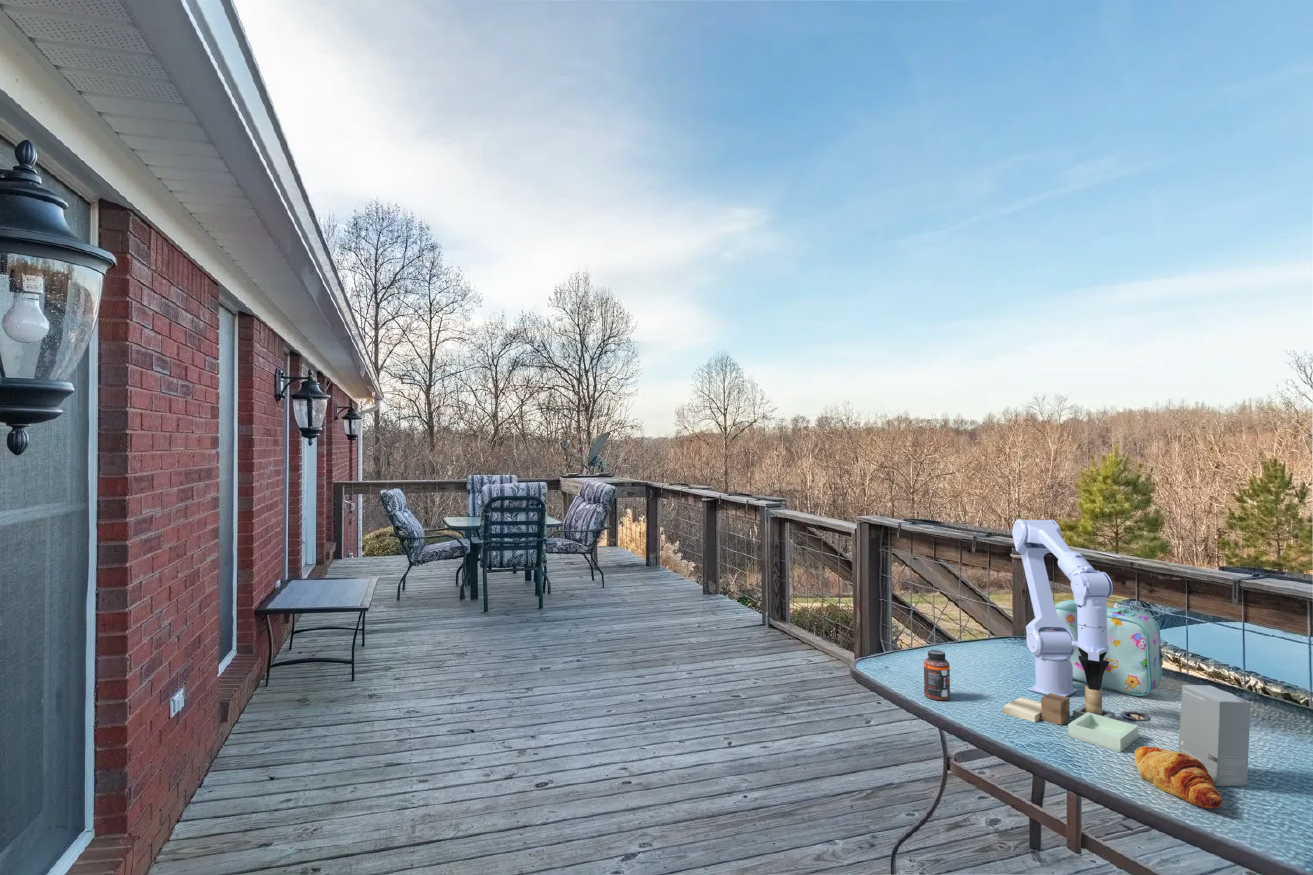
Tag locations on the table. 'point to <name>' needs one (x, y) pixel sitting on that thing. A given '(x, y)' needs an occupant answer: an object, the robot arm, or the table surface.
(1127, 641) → the lunch box
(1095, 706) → the dowel
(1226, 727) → the skincare box
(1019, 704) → the cream flat block
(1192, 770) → the croissant
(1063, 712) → the brown block
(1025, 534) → the robot arm
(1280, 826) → the table surface
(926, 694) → the supplement bottle
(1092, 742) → the tray
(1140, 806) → the table surface
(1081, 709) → the dowel socket
